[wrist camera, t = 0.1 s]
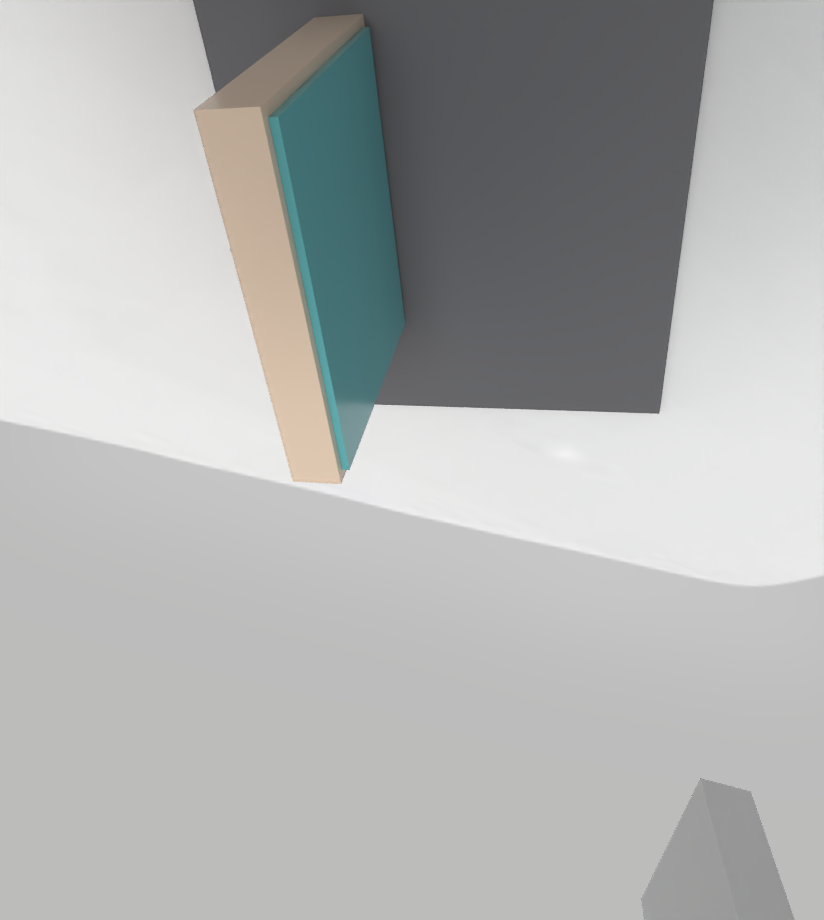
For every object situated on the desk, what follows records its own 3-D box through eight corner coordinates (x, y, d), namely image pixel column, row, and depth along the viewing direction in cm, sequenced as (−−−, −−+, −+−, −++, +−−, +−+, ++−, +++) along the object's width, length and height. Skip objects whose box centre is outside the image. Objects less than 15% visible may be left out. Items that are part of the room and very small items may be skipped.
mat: (166, -128, 29) (161, -127, 28) (738, -199, 24) (740, -199, 24) (294, 397, 44) (292, 401, 44) (658, 408, 40) (659, 413, 39)
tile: (314, 17, 30) (193, 110, 22) (370, 12, 30) (270, 106, 21) (363, 325, 39) (293, 481, 30) (407, 326, 39) (348, 484, 30)
